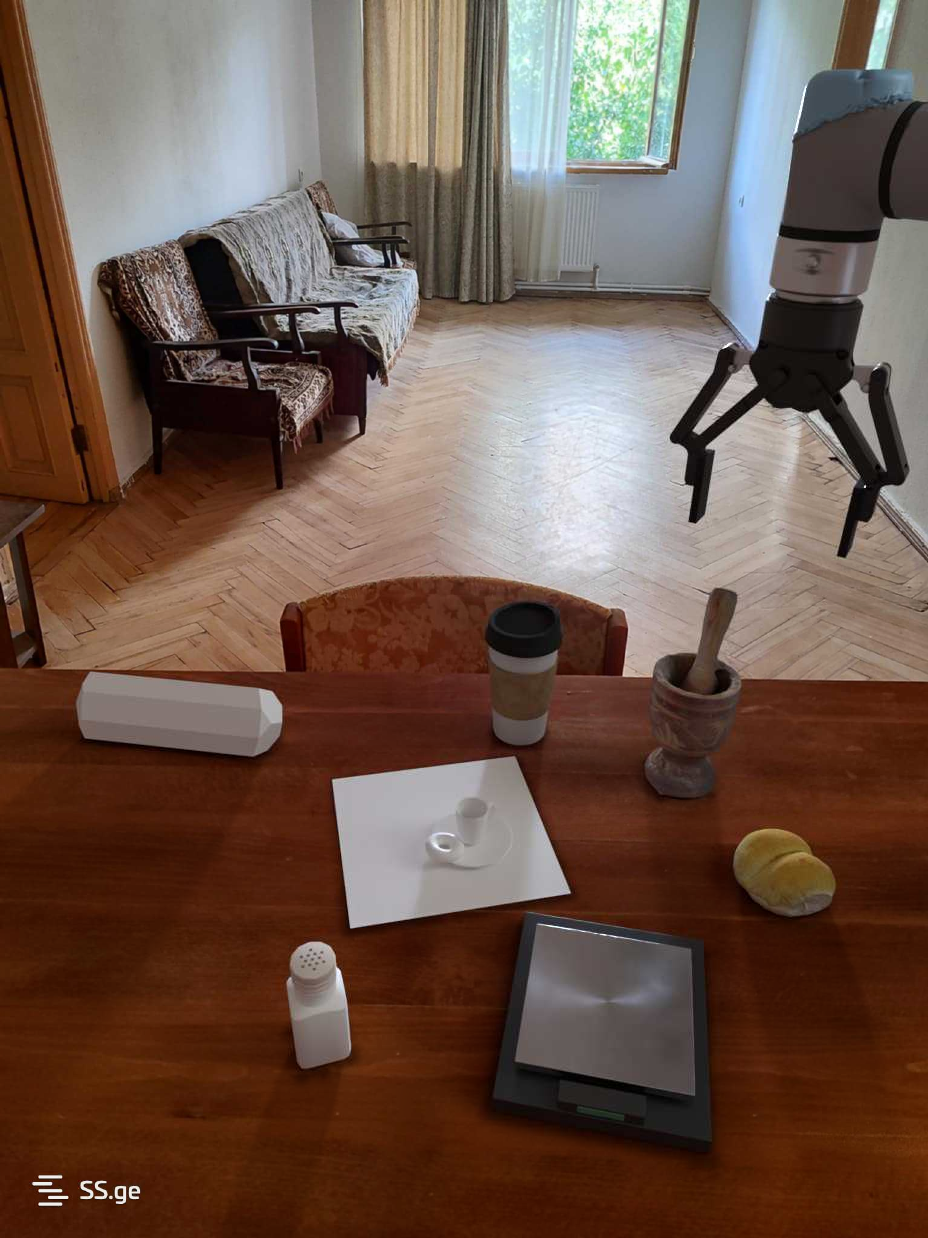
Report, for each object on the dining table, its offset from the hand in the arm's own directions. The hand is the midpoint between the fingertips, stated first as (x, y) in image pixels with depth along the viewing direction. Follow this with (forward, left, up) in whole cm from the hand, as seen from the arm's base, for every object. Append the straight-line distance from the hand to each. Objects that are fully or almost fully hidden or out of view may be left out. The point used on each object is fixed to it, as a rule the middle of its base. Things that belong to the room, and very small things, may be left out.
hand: (767, 534), depth 82 cm
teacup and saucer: (+27, +16, -28) cm, 42 cm away
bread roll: (-5, +16, -28) cm, 32 cm away
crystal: (+60, +6, -28) cm, 66 cm away
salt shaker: (+31, +40, -28) cm, 58 cm away
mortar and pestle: (+4, +1, -28) cm, 28 cm away
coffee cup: (+22, -2, -28) cm, 36 cm away
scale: (+10, +34, -28) cm, 45 cm away
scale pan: (+10, +34, -26) cm, 44 cm away
